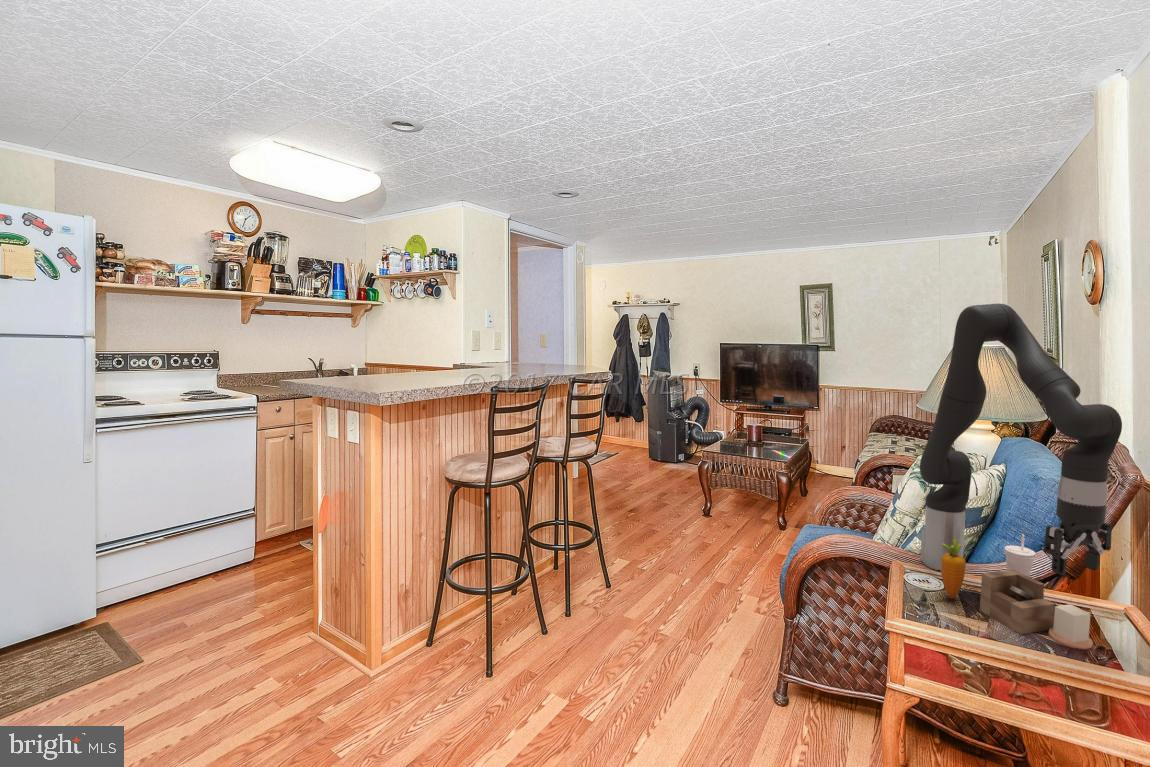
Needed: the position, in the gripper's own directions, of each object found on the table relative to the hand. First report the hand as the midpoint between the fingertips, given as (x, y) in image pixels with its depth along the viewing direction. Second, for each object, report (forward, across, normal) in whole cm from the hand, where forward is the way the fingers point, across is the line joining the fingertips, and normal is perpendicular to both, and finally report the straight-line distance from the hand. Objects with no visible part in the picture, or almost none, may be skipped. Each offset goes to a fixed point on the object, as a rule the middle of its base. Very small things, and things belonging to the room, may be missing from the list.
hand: (1075, 571), depth 115 cm
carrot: (+16, -10, +20) cm, 27 cm away
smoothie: (+16, +12, +22) cm, 29 cm away
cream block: (+15, 0, 0) cm, 15 cm away
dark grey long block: (+12, +1, +9) cm, 15 cm away
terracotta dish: (+15, 0, 0) cm, 16 cm away
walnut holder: (+16, -3, +9) cm, 18 cm away
